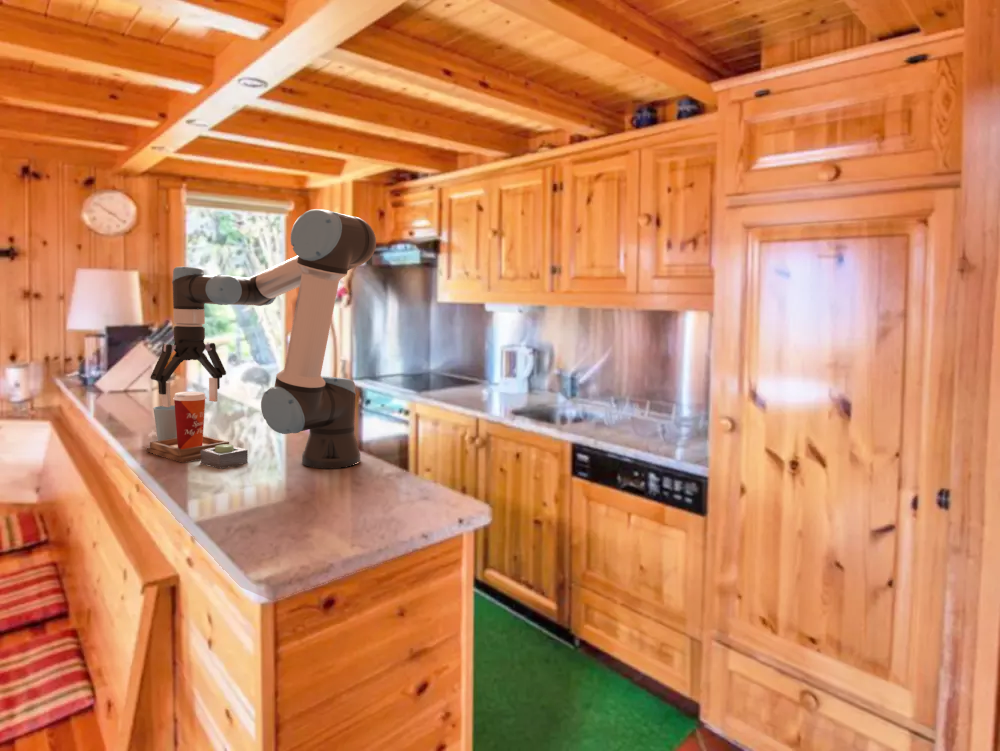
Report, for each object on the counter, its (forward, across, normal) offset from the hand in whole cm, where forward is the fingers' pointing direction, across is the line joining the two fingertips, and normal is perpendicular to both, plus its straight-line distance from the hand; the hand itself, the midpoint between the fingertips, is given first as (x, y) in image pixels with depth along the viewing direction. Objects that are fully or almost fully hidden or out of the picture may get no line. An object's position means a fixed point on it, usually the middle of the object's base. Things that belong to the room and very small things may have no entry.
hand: (190, 403), depth 172 cm
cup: (+14, -2, -14) cm, 20 cm away
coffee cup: (+12, 0, 0) cm, 12 cm away
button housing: (+14, +1, +16) cm, 21 cm away
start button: (+13, +1, +16) cm, 21 cm away
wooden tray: (+13, 0, 0) cm, 13 cm away
